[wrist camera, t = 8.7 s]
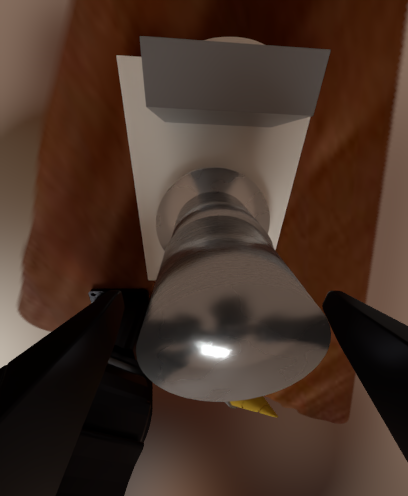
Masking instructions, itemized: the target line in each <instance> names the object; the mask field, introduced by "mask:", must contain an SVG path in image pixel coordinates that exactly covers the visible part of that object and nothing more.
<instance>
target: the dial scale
mask: <svg viewBox="0 0 408 496" xmlns="http://www.w3.org/2000/svg"><path fill="white" fill-rule="evenodd" d="M140 47H141V57H136V56H121V55H116V57H117V64H118V71H119V78H120V85H121V92H122V99H123V106H124V113H125V120H126V127H127V134H128V141H129V149H130V156H131V163H132V170H133V177H134V184H135V191H136V198H137V205H138V212H139V219H140V226H141V233H142V240H143V248H144V255H145V262H146V269H147V276H148V280H156V279H157V275H158V272H159V269H160V266H161V262H162V259H163V256H164V253H165V249H166V247H167V245H168V243H169V241H170V240H171V237H172V233H173V230H174V226H175V223H176V219H177V216H178V214H179V212H180V210H181V209H182V207H183V206H184V205H185V204H186V203H187V202H188V201H189V200H190V199H192V198H193V197H195V196H197V195H199V194H202V193H205V192H213V191H217V192H224V193H227V194H230V195H232V196H234V197H236V198H237V199H238V200H239V201H241V202H242V204H243V205H244V206H245V207H246V208H247V209H248V211H249V212H250V213H251V214H252V215H253V217H254V218H255V219H256V220H257V222H258V223H259V224H260V225H261V226H262V228H263V229H264V230H265V231H266V233H267V234H268V235H269V237H270V239H271V241H272V243H273V247H274V249H275V250H276V246H277V242H278V239H279V235H280V231H281V227H282V223H283V220H284V216H285V212H286V208H287V204H288V200H289V197H290V193H291V189H292V185H293V181H294V178H295V174H296V170H297V166H298V162H299V159H300V155H301V151H302V147H303V143H304V140H305V136H306V132H307V128H308V124H309V120H310V117H311V116H313V114H314V111H315V107H316V103H317V99H318V96H319V92H320V88H321V85H322V81H323V77H324V73H325V70H326V66H327V62H328V58H329V55H330V51H331V50H327V49H313V48H299V47H286V46H272V45H264V44H262V43H260V42H258V41H255V40H252V39H247V38H241V37H218V38H211V39H207V40H189V39H176V38H162V37H148V36H140Z"/></svg>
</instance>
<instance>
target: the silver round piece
mask: <svg viewBox="0 0 408 496" xmlns="http://www.w3.org/2000/svg"><path fill="white" fill-rule="evenodd" d="M219 215H223V216H232V217H236V218H239V219H242V220H245V221H247V222H249V223H251V224H252V225H253V226H255V227H256V228H257V229H258V230H259V231H260V232H261V233H262V234H263V235H264V236H265V238H266V239H267V240H268V242H269V243H270V244H271V246H272V247H273V243H272V241H271V239H270V237H269V235H268V234H267V233H266V231H265V230H264V229H263V228H262V226H261V225H260V224H259V223H258V222H257V220H256V219H255V218H254V217H253V215H252V214H251V213H250V212H249V211H248V209H247V208H246V207H245V206H244V205H243V204H242V202H241V201H239V200H238V199H237V198H236V197H234V196H232V195H230V194H227V193H224V192H217V191H213V192H205V193H202V194H199V195H197V196H195V197H193V198H192V199H190V200H189V201H188V202H187V203H186V204H185V205H184V206H183V207H182V209H181V210H180V212H179V214H178V216H177V219H176V223H175V226H174V230H173V233H172V237H173V236H174V235H175V234H176V233H177V232H178V231H179V230H180V229H181V228H183V227H184V226H185V225H187V224H189V223H190V222H193V221H195V220H197V219H201V218H204V217H209V216H219ZM172 237H171V238H172ZM273 248H274V247H273Z"/></svg>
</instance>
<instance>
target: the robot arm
mask: <svg viewBox="0 0 408 496" xmlns="http://www.w3.org/2000/svg"><path fill="white" fill-rule="evenodd" d="M142 293H144V294H142ZM89 297H90V300H91V302H92V303H91V304H90V305H89V306H87V307H86V308H84V309H83V310H82V311H80V312H79V313H77V314H76V315H75V316H73V317H72V318H70V319H69V320H68V321H66V322H65V323H63V324H62V325H61V326H59V327H58V328H56V329H55V330H54V331H52V332H51V333H49V334H48V335H47V336H45V337H44V338H42V339H41V340H40V341H38V342H37V343H36V344H34V345H33V346H31V347H30V348H28V349H27V350H26V351H24V352H23V353H22V354H20V355H19V356H17V357H16V358H15V359H13V360H12V361H10V362H9V363H8V365H5V366H3V367H2V368H0V496H124V494H125V491H126V488H127V485H128V482H129V479H130V476H131V474H132V471H133V469H134V466H135V464H136V462H137V460H138V458H139V456H140V454H141V452H142V450H143V447H144V440H145V438H146V435H147V433H148V430H149V426H150V422H151V416H152V381H151V380H149V379H148V377H147V376H146V375H145V374H144V373H143V371H142V370H141V368H140V366H139V364H138V361H137V356H136V345H137V341H138V338H139V334H140V331H141V328H142V325H143V321H144V318H145V315H146V311H147V308H148V305H149V302H150V300H149V294H148V291H147V290H145V289H92V290H91V291H90V292H89ZM322 307H323V311H324V313H325V315H326V317H327V319H328V321H329V324H330V326H331V328H332V330H333V332H334V334H335V336H336V338H337V340H338V342H339V344H340V346H341V348H342V350H343V352H344V353H345V355H346V357H347V358H348V360H349V362H350V364H351V365H352V367H353V369H354V371H355V372H356V374H357V376H358V377H359V379H360V381H361V382H362V384H363V386H364V388H365V389H366V391H367V393H368V395H369V396H370V398H371V400H372V401H373V403H374V405H375V407H376V408H377V410H378V412H379V414H380V415H381V417H382V419H383V420H384V422H385V424H386V426H387V427H388V429H389V431H390V433H391V434H392V436H393V438H394V439H395V441H396V443H397V444H398V446H399V448H400V450H401V451H402V453H403V455H404V457H405V458H406V460H407V462H408V326H406V325H405V324H403V323H401V322H399V321H397V320H395V319H393V318H391V317H389V316H388V315H386V314H384V313H382V312H380V311H378V310H376V309H374V308H372V307H370V306H368V305H366V304H364V303H363V302H361V301H359V300H357V299H355V298H353V297H351V296H349V295H347V294H345V293H343V292H341V291H330V292H328V294H327V296H326V298H325V300H324V302H323V305H322Z"/></svg>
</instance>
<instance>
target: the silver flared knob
mask: <svg viewBox="0 0 408 496" xmlns="http://www.w3.org/2000/svg"><path fill="white" fill-rule="evenodd" d="M330 339H331V331H330V325H329V323H328V320H327V318H326V316H325V315H324V314H323V312H322V311H321V309H320V308H319V307H318V306H317V304H316V303H315V302H314V300H313V299H312V298H311V296H310V295H309V294H308V293H307V291H306V290H305V289H304V287H303V286H302V285H301V283H300V282H299V281H298V279H297V278H296V277H295V276H294V274H293V273H292V272H291V270H290V269H289V268H288V266H287V265H286V264H285V263H284V261H283V260H282V259H281V257H280V256H279V255H278V253H277V252H276V251H275V249H274V248H273V247H272V246H271V244H270V243H269V242H268V240H267V239H266V238H265V236H264V235H263V234H262V233H261V232H260V231H259V230H258V229H257V228H256V227H255V226H253V225H252V224H251V223H249V222H247V221H245V220H242V219H239V218H236V217H232V216H223V215H219V216H209V217H204V218H201V219H197V220H195V221H193V222H190V223H189V224H187V225H185V226H184V227H183V228H181V229H180V230H179V231H178V232H177V233H176V234H175V235H174V236H173V237H172V238H171V240H170V241H169V243H168V245H167V247H166V249H165V253H164V256H163V259H162V262H161V266H160V269H159V272H158V275H157V279H156V282H155V285H154V289H153V292H152V295H151V298H150V302H149V305H148V308H147V311H146V315H145V318H144V321H143V325H142V328H141V331H140V334H139V338H138V341H137V345H136V356H137V361H138V364H139V366H140V368H141V370H142V371H143V373H144V374H145V375H146V376H147V377H148V379H149V380H151V381H152V382H153V383H154V384H156V385H157V386H159V387H161V388H162V389H164V390H166V391H168V392H170V393H173V394H176V395H179V396H182V397H185V398H190V399H195V400H201V401H214V402H227V401H239V400H246V399H252V398H257V397H261V396H265V395H268V394H271V393H274V392H277V391H279V390H282V389H284V388H286V387H288V386H290V385H292V384H294V383H296V382H297V381H299V380H301V379H302V378H303V377H305V376H306V375H308V374H309V373H310V372H311V371H312V370H314V369H315V367H316V366H317V365H318V364H319V363H320V362H321V360H322V359H323V358H324V356H325V354H326V352H327V350H328V348H329V344H330Z"/></svg>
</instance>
